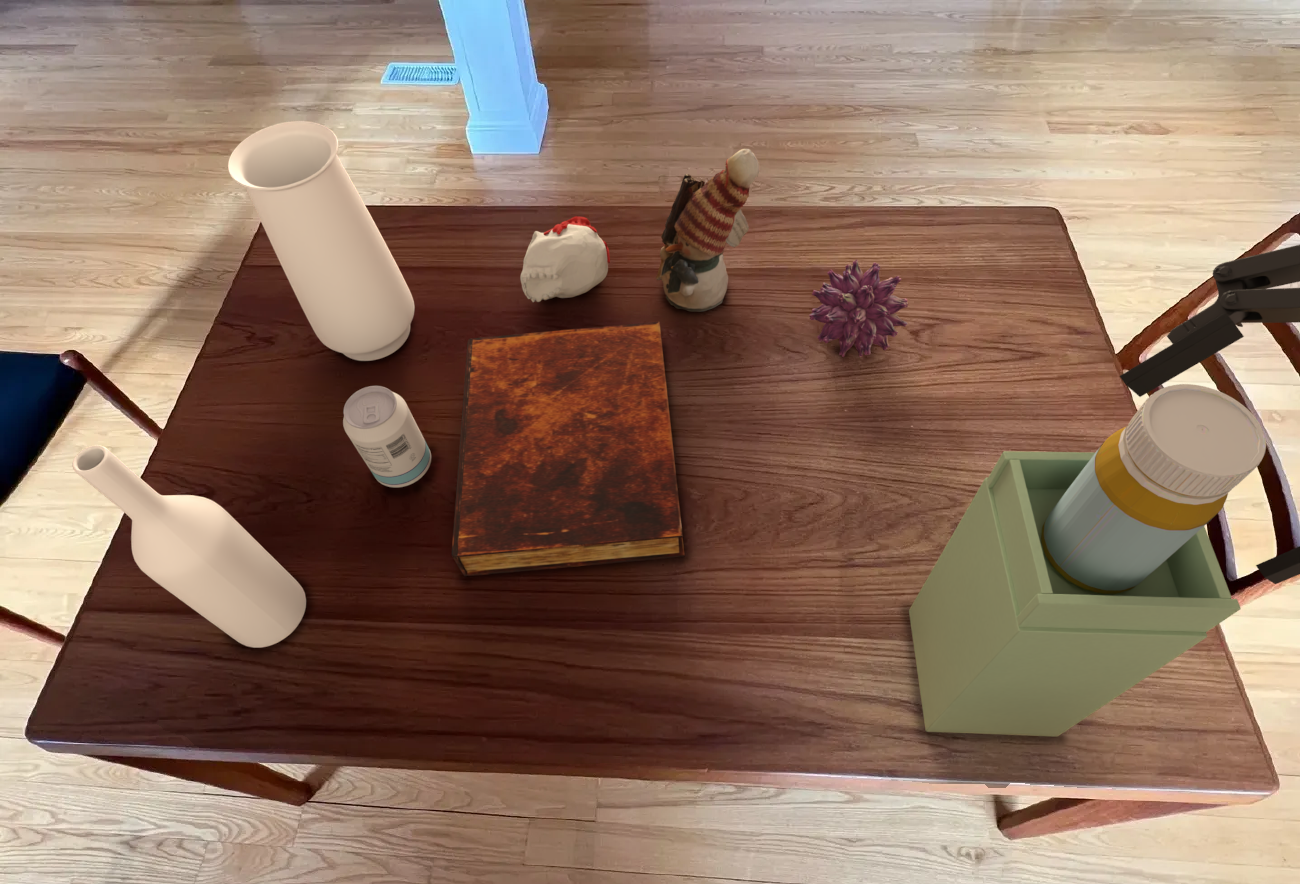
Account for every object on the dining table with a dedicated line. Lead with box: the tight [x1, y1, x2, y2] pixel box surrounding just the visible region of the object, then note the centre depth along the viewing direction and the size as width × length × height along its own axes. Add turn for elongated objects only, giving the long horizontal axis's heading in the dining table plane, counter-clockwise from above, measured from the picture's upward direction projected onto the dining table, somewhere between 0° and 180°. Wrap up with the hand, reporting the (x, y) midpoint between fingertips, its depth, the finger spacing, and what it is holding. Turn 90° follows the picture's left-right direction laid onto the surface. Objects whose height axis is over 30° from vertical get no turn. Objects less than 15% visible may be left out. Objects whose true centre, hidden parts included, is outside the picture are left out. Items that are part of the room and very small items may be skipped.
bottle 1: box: [71, 444, 307, 649], centre depth 72 cm, size 8×8×30 cm
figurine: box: [655, 148, 760, 313], centre depth 99 cm, size 13×12×20 cm
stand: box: [908, 450, 1242, 738], centre depth 64 cm, size 12×12×30 cm
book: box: [451, 321, 686, 577], centre depth 91 cm, size 30×24×5 cm
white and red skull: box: [519, 215, 611, 303], centre depth 106 cm, size 9×11×15 cm
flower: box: [808, 258, 909, 358], centre depth 96 cm, size 12×12×12 cm
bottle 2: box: [1041, 383, 1267, 594], centre depth 49 cm, size 7×7×15 cm
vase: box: [227, 120, 416, 362], centre depth 94 cm, size 13×13×28 cm
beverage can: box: [342, 385, 432, 488], centre depth 89 cm, size 7×7×12 cm
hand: (1191, 473), depth 47 cm, fingers open, 13 cm apart
